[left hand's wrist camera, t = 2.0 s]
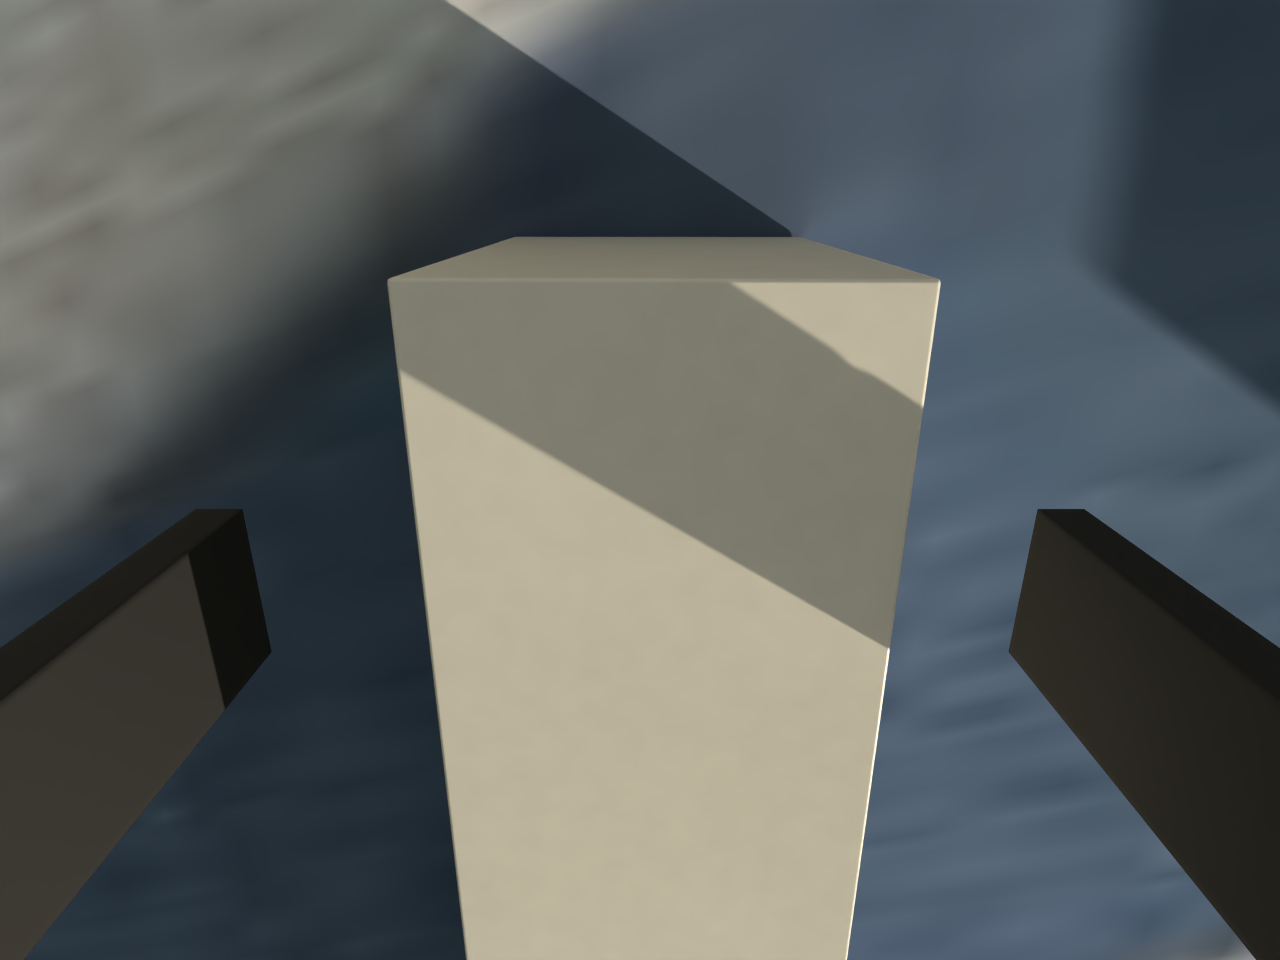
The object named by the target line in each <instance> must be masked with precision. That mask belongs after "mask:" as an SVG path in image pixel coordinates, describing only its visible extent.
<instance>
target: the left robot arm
mask: <svg viewBox="0 0 1280 960" xmlns="http://www.w3.org/2000/svg"><path fill="white" fill-rule="evenodd" d="M270 653H271V648H270V643H269V638H268V633H267V628H266V623H265V618H264V613H263V608H262V603H261V599H260V594H259V589H258V584H257V579H256V574H255V569H254V564H253V559H252V554H251V550H250V545H249V540H248V535H247V530H246V525H245V520H244V515H243V510H242V509H195V510H194V511H193V512H191V513H190V514H188V515H187V516H186V517H184V518H183V519H181V520H180V521H179V522H177V523H176V524H174V525H173V526H172V527H170V528H169V529H167V530H166V531H164V532H163V533H162V534H160V535H159V536H157V537H156V538H155V539H153V540H152V541H150V542H149V543H148V544H146V545H145V546H143V547H142V548H141V549H139V550H138V551H136V552H135V553H134V554H132V555H131V556H129V557H128V558H127V559H125V560H124V561H122V562H121V563H120V564H118V565H117V566H115V567H114V568H112V569H111V570H110V571H108V572H107V573H105V574H104V575H103V576H101V577H100V578H98V579H97V580H96V581H94V582H93V583H91V584H90V585H89V586H87V587H86V588H84V589H83V590H82V591H80V592H79V593H77V594H76V595H75V596H73V597H72V598H70V599H69V600H67V601H66V602H65V603H63V604H62V605H60V606H59V607H58V608H56V609H55V610H53V611H52V612H51V613H49V614H48V615H46V616H45V617H44V618H42V619H41V620H39V621H38V622H37V623H35V624H34V625H32V626H31V627H30V628H28V629H27V630H25V631H24V632H22V633H21V634H20V635H18V636H17V637H15V638H14V639H13V640H11V641H10V642H8V643H7V644H6V645H4V646H3V647H1V648H0V960H24V959H25V958H26V956H27V955H28V954H29V953H30V951H31V950H32V949H33V948H34V946H35V945H36V944H37V943H38V941H39V940H40V939H41V938H42V936H43V935H44V934H45V933H46V931H47V930H48V929H49V928H50V926H51V925H52V924H53V923H54V922H55V920H56V919H57V918H58V917H59V915H60V914H61V913H62V912H63V910H64V909H65V908H66V907H67V905H68V904H69V903H70V902H71V900H72V899H73V898H74V897H75V895H76V894H77V893H78V892H79V890H80V889H81V888H82V887H83V885H84V884H85V883H86V882H87V880H88V879H89V878H90V877H91V876H92V874H93V873H94V872H95V871H96V869H97V868H98V867H99V866H100V864H101V863H102V862H103V861H104V859H105V858H106V857H107V856H108V854H109V853H110V852H111V851H112V849H113V848H114V847H115V846H116V844H117V843H118V842H119V841H120V839H121V838H122V837H123V836H124V834H125V833H126V832H127V831H128V829H129V828H130V827H131V826H132V825H133V823H134V822H135V821H136V820H137V818H138V817H139V816H140V815H141V813H142V812H143V811H144V810H145V808H146V807H147V806H148V805H149V803H150V802H151V801H152V800H153V798H154V797H155V796H156V795H157V793H158V792H159V791H160V790H161V788H162V787H163V786H164V785H165V783H166V782H167V781H168V780H169V778H170V777H171V776H172V775H173V774H174V772H175V771H176V770H177V769H178V767H179V766H180V765H181V764H182V762H183V761H184V760H185V759H186V757H187V756H188V755H189V754H190V752H191V751H192V750H193V749H194V747H195V746H196V745H197V744H198V742H199V741H200V740H201V739H202V737H203V736H204V735H205V734H206V732H207V731H208V730H209V729H210V728H211V726H212V725H213V724H214V723H215V721H216V720H217V719H218V718H219V716H220V715H221V714H222V713H223V711H224V710H225V709H226V708H227V706H228V705H229V704H230V703H231V701H232V700H233V699H234V698H235V696H236V695H237V694H238V693H239V691H240V690H241V689H242V688H243V686H244V685H245V684H246V683H247V681H248V680H249V679H250V678H251V677H252V675H253V674H254V673H255V672H256V670H257V669H258V668H259V667H260V665H261V664H262V663H263V662H264V660H265V659H266V658H267V657H268V655H269V654H270ZM1009 653H1010V654H1011V655H1012V657H1013V658H1014V659H1015V660H1016V662H1017V663H1018V664H1019V665H1020V667H1021V668H1022V669H1023V670H1024V672H1025V673H1026V674H1027V675H1028V677H1029V678H1030V679H1031V680H1032V681H1033V683H1034V684H1035V685H1036V686H1037V688H1038V689H1039V690H1040V691H1041V693H1042V694H1043V695H1044V696H1045V698H1046V699H1047V700H1048V701H1049V703H1050V704H1051V705H1052V706H1053V708H1054V709H1055V710H1056V711H1057V713H1058V714H1059V715H1060V716H1061V718H1062V719H1063V720H1064V721H1065V723H1066V724H1067V725H1068V726H1069V728H1070V729H1071V730H1072V731H1073V732H1074V734H1075V735H1076V736H1077V737H1078V739H1079V740H1080V741H1081V742H1082V744H1083V745H1084V746H1085V747H1086V749H1087V750H1088V751H1089V752H1090V754H1091V755H1092V756H1093V757H1094V759H1095V760H1096V761H1097V762H1098V764H1099V765H1100V766H1101V767H1102V769H1103V770H1104V771H1105V772H1106V774H1107V775H1108V776H1109V777H1110V778H1111V780H1112V781H1113V782H1114V783H1115V785H1116V786H1117V787H1118V788H1119V790H1120V791H1121V792H1122V793H1123V795H1124V796H1125V797H1126V798H1127V800H1128V801H1129V802H1130V803H1131V805H1132V806H1133V807H1134V808H1135V810H1136V811H1137V812H1138V813H1139V815H1140V816H1141V817H1142V818H1143V820H1144V821H1145V822H1146V823H1147V825H1148V826H1149V827H1150V828H1151V829H1152V831H1153V832H1154V833H1155V834H1156V836H1157V837H1158V838H1159V839H1160V841H1161V842H1162V843H1163V844H1164V846H1165V847H1166V848H1167V849H1168V851H1169V852H1170V853H1171V854H1172V856H1173V857H1174V858H1175V859H1176V861H1177V862H1178V863H1179V864H1180V866H1181V867H1182V868H1183V869H1184V871H1185V872H1186V873H1187V874H1188V876H1189V877H1190V878H1191V879H1192V880H1193V882H1194V883H1195V884H1196V885H1197V887H1198V888H1199V889H1200V890H1201V892H1202V893H1203V894H1204V895H1205V897H1206V898H1207V899H1208V900H1209V902H1210V903H1211V904H1212V905H1213V907H1214V908H1215V909H1216V910H1217V912H1218V913H1219V914H1220V915H1221V917H1222V918H1223V919H1224V920H1225V922H1226V923H1227V924H1228V925H1229V927H1230V928H1231V929H1232V930H1233V931H1234V933H1235V934H1236V935H1237V936H1238V938H1239V939H1240V940H1241V941H1242V943H1243V944H1244V945H1245V946H1246V948H1247V949H1248V950H1249V951H1250V953H1251V954H1252V955H1253V956H1254V958H1255V959H1256V960H1280V648H1279V647H1277V646H1276V645H1274V644H1273V643H1272V642H1270V641H1269V640H1267V639H1266V638H1265V637H1263V636H1262V635H1260V634H1259V633H1258V632H1256V631H1255V630H1253V629H1252V628H1250V627H1249V626H1248V625H1246V624H1245V623H1243V622H1242V621H1241V620H1239V619H1238V618H1236V617H1235V616H1234V615H1232V614H1231V613H1229V612H1228V611H1227V610H1225V609H1224V608H1222V607H1221V606H1220V605H1218V604H1217V603H1215V602H1214V601H1213V600H1211V599H1210V598H1208V597H1207V596H1205V595H1204V594H1203V593H1201V592H1200V591H1198V590H1197V589H1196V588H1194V587H1193V586H1191V585H1190V584H1189V583H1187V582H1186V581H1184V580H1183V579H1182V578H1180V577H1179V576H1177V575H1176V574H1175V573H1173V572H1172V571H1170V570H1169V569H1168V568H1166V567H1165V566H1163V565H1162V564H1160V563H1159V562H1158V561H1156V560H1155V559H1153V558H1152V557H1151V556H1149V555H1148V554H1146V553H1145V552H1144V551H1142V550H1141V549H1139V548H1138V547H1137V546H1135V545H1134V544H1132V543H1131V542H1130V541H1128V540H1127V539H1125V538H1124V537H1123V536H1121V535H1120V534H1118V533H1117V532H1115V531H1114V530H1113V529H1111V528H1110V527H1108V526H1107V525H1106V524H1104V523H1103V522H1101V521H1100V520H1099V519H1097V518H1096V517H1094V516H1093V515H1092V514H1090V513H1089V512H1087V511H1086V510H1085V509H1038V510H1037V515H1036V520H1035V525H1034V530H1033V535H1032V540H1031V545H1030V550H1029V554H1028V559H1027V564H1026V569H1025V574H1024V579H1023V584H1022V589H1021V594H1020V599H1019V603H1018V608H1017V613H1016V618H1015V623H1014V628H1013V633H1012V638H1011V643H1010V648H1009Z"/></svg>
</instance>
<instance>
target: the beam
mask: <svg viewBox="0 0 1280 960" xmlns="http://www.w3.org/2000/svg"><path fill="white" fill-rule="evenodd" d="M387 284H388V293H389V301H390V310H391V318H392V327H393V336H394V344H395V353H396V361H397V370H398V378H399V387H400V396H401V404H402V413H403V421H404V430H405V438H406V447H407V456H408V464H409V473H410V481H411V490H412V499H413V507H414V516H415V524H416V533H417V541H418V550H419V559H420V567H421V576H422V584H423V593H424V601H425V610H426V619H427V627H428V636H429V644H430V653H431V662H432V670H433V679H434V687H435V696H436V704H437V713H438V722H439V730H440V739H441V747H442V756H443V764H444V773H445V782H446V790H447V799H448V807H449V816H450V824H451V833H452V842H453V850H454V859H455V867H456V876H457V885H458V893H459V902H460V910H461V919H462V927H463V936H464V945H465V953H466V960H847V954H848V947H849V939H850V932H851V925H852V918H853V911H854V903H855V896H856V889H857V882H858V875H859V867H860V860H861V853H862V846H863V839H864V831H865V824H866V817H867V810H868V802H869V795H870V788H871V781H872V774H873V766H874V759H875V752H876V745H877V738H878V730H879V723H880V716H881V709H882V701H883V694H884V687H885V680H886V673H887V665H888V658H889V651H890V644H891V637H892V629H893V622H894V615H895V608H896V601H897V593H898V586H899V579H900V572H901V564H902V557H903V550H904V543H905V536H906V528H907V521H908V514H909V507H910V500H911V492H912V485H913V478H914V471H915V464H916V456H917V449H918V442H919V435H920V427H921V420H922V413H923V406H924V399H925V391H926V384H927V377H928V370H929V363H930V355H931V348H932V341H933V334H934V327H935V319H936V312H937V305H938V298H939V290H940V280H939V279H937V278H933V277H930V276H927V275H923V274H920V273H917V272H914V271H910V270H907V269H904V268H900V267H897V266H894V265H890V264H887V263H884V262H880V261H877V260H874V259H871V258H867V257H864V256H861V255H857V254H854V253H851V252H847V251H844V250H841V249H837V248H834V247H831V246H827V245H824V244H821V243H818V242H814V241H811V240H808V239H804V238H801V237H513V238H510V239H507V240H504V241H501V242H498V243H495V244H492V245H489V246H486V247H483V248H480V249H477V250H474V251H471V252H468V253H465V254H462V255H458V256H455V257H452V258H449V259H446V260H443V261H440V262H437V263H434V264H431V265H428V266H425V267H422V268H419V269H416V270H413V271H410V272H407V273H404V274H401V275H398V276H395V277H392V278H390V279H388V282H387Z"/></svg>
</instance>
